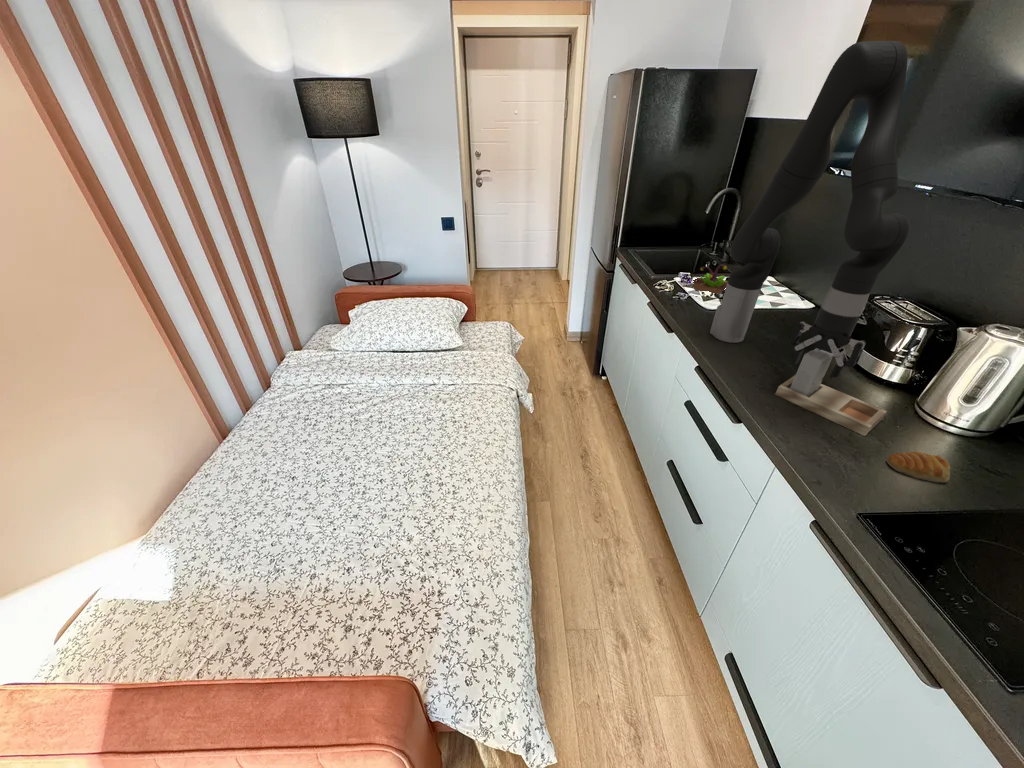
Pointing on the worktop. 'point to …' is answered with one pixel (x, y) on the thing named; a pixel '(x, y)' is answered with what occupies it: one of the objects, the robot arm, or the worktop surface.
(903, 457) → the pastry
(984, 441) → the worktop surface
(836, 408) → the wooden compartment tray
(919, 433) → the worktop surface
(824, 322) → the robot arm
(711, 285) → the plant
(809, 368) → the skincare box
